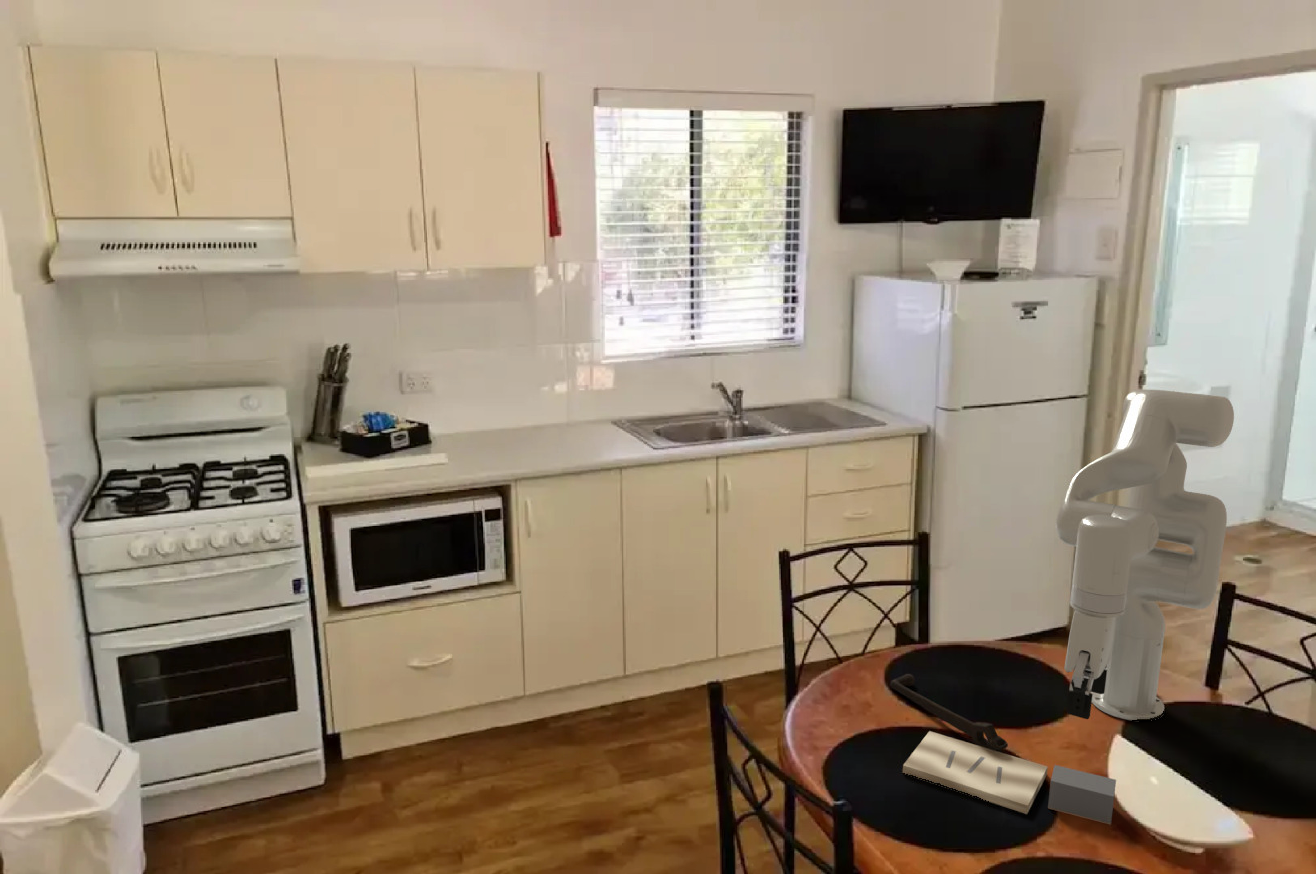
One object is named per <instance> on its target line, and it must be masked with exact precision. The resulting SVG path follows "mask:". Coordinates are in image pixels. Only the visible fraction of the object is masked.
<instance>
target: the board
mask: <svg viewBox="0 0 1316 874" xmlns="http://www.w3.org/2000/svg"><path fill="white" fill-rule="evenodd" d="M1048 768H1049V767H1048V766H1047V765H1044V764H1040V763H1037V762H1034V761H1030V760H1027V759H1024V758H1021V757H1016V756H1014V755H1010V754H1007V753H1003V752H1000V751H998V750H997V751H996V750H991V749H987V748H984V747H981V746H978V745H977V744H975V743H974V744H973V743H970V742H966V741H965V740H961V739H957V738H954V737H950V736H947V735H944V734H941V733H937V732H934V731H931V730H929V731H928V732H927V734H926V735H925V736H924V737H923V738H922V740H921V742H920V743H919V744H918V745H917V746H916V748H915V749H914V750H913V752H911V754H910V756H909V757H908V758H907V759H906V761H905V762H904V763H903V765H902V774H903V773H905V774H904V775H906V774H908V775H907V776H909V775H913V776H916V777H918V778H917V779H919V778H922V779H926V780H929V781H932V782H934V783H940V784H941V785H944V786H947V787H949V788H953V789H956V790H958V791H962V792H965V793H968V794H970V795H972V796H971V797H973V796H977V797H979V798H981V799H980V800H982V799H983V801H985V800H986V801H985V802H988V801H989V803H992V804H993V805H994V804H995V805H998V806H1001V807H1004V808H1007V809H1010V810H1014V811H1017V812H1018V813H1022V814H1025V815H1028V813H1029V811H1030V809H1031V807H1032V806H1033V804H1034V801H1035V799H1036V798H1037V796H1038V793H1039V791H1040V789H1041V788H1042V786H1043V784H1044V781H1045V779H1046V778H1047V776H1048ZM922 779H921V780H922ZM934 783H933V784H934ZM949 788H948V789H949ZM958 791H957V792H958ZM970 795H969V796H970ZM979 798H978V799H979Z"/></svg>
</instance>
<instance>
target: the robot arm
mask: <svg viewBox="0 0 1316 874" xmlns="http://www.w3.org/2000/svg"><path fill="white" fill-rule="evenodd" d="M1234 411H1235V410H1234V407H1233V405H1232V402H1231V401H1230V400H1229V398H1227V397H1225V396H1219V395H1209V394H1202V393H1193V392H1192V393H1191V392H1181V391H1174V390H1163V389H1162V390H1161V389H1138V390H1133V391H1131V392H1129V393H1128V394H1127V395H1126V396H1125V398H1124V400H1123V404H1122V415H1123V417H1122V421H1121V423H1120V427H1119V428H1118V432H1117V435H1116V437H1115V439H1114V443H1113V446H1112V449H1111V451H1110V452H1109V453H1107V454H1104V455H1103V456H1100V457H1098V458H1097V459H1095V460H1093V461H1091V462H1090V463H1088V464H1087V465H1086V466H1084V467H1082V468H1081V469H1079V471H1078V472H1077V473H1076V474H1074V476H1073V477H1072V478H1071V480H1070V481H1069V482H1068V484H1067V487H1066V489H1065V491H1064V495H1063V497H1062V500H1061V503H1060V506H1059V508H1058V511H1057V514H1056V519H1055V531H1056V536H1057V537H1058V538H1059V540H1060V541H1061V542H1063V544H1065V545H1067V546H1071V547H1075V556H1074V564H1073V574H1072V581H1071V589H1070V590H1071V593H1070V599H1069V605H1070V607H1071V608H1073V609H1074V613H1073V617H1072V620H1071V624H1070V631H1069V636H1068V643H1067V649H1066V656H1065V661H1064V669H1063V670H1065V672H1066V673H1072V677H1071V681H1070V684H1069V688H1068V694H1067V703H1066V704H1067V705H1066V713H1067V714H1068V715H1070V716H1074V717H1077V718H1081V719H1085V720H1089V719H1090V716H1091V712H1092V711H1091V710H1092V704H1093V706H1094V707H1096V708H1097V709H1098V710H1100V711H1102V712H1103V713H1105V714H1107V715H1110V716H1113V717H1115V718H1118V719H1121V720H1127V721H1132V720H1137V719H1150V718H1154V717H1157V716H1159V715H1161V714H1162V713H1163V711H1164V712H1165V705H1164V703H1163V701H1162V700H1161V699H1160V698H1159V697H1158V696H1157V694H1158V693H1157V692H1158V687H1159V686H1158V685H1159V679H1160V678H1159V677H1160V671H1161V665H1162V655H1163V647H1164V640H1165V635H1166V634H1165V632H1166V621H1165V616H1164V613H1163V612H1162V610H1161V608H1160V606H1159V605H1158V603H1157V602H1159V603H1165V604H1169V605H1174V606H1180V607H1184V608H1188V609H1194V610H1195V609H1196V610H1204V609H1206V608H1208V607H1210V606H1211V605H1212V604H1213V602H1214V600H1215V596H1216V594H1217V589H1218V582H1219V577H1220V571H1221V564H1222V557H1223V552H1224V551H1223V550H1224V543H1225V539H1226V532H1227V531H1226V530H1227V519H1228V518H1227V517H1228V514H1227V508H1226V505H1225V504H1224V502H1223V501H1222V500H1221V499H1220V498H1218V497H1216V496H1214V495H1210V494H1207V493H1200V492H1195V491H1194V492H1192V491H1186V490H1185V479H1186V474H1187V468H1188V463H1187V460H1186V459H1187V458H1186V457H1185V455H1184V454H1183V452H1182V449H1181V448H1180V447H1179V446H1178V444H1182V445H1189V446H1190V445H1191V446H1199V447H1206V448H1207V447H1208V448H1215V447H1218V446H1221V445H1222V444H1223V443H1225V441H1227V439H1228V437H1229V436H1230V434H1231V432H1232V429H1233V426H1234V421H1235V420H1234V419H1235V412H1234ZM1124 489H1130V490H1129V495H1128V501H1127V502H1128V503H1127V506H1122V505H1117V504H1112V503H1106V502H1099V501H1094V500H1092V499H1093V498H1094V497H1095V498H1096V497H1098V496H1099V495H1103V494H1106V493H1109V492H1113V491H1119V490H1124ZM1158 541H1163V542H1167V543H1174V544H1179V545H1184V546H1188V547H1189V548H1190V549H1191V550H1192V553H1188V552H1184V551H1177V550H1172V549H1168V548H1163V547H1158V546H1156V545H1157V544H1158Z"/></svg>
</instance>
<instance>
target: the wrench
mask: <svg viewBox="0 0 1316 874" xmlns="http://www.w3.org/2000/svg"><path fill="white" fill-rule="evenodd" d="M915 680H916V678H915V677H914V675H913V674H911V673H905V674H904V675H902V676H900V677H897V678H894V679H892V680H891V681H890V686H891V688H892V689H893V690H895V691H896V692H898V693H900V694H901V695H903V696H905V697H906V698H908V699H909V700H911V701H913V702H914V703H916V704H917V705H919V706H921V707H922V709H923V708H924V709H925V710H926V711H928V712H929V713H932V714H933V715H934V716H936V717H938V718H939V719H940V720H942V721H944V722H946V723H947V724H949V725H950V726H952V727H954V728H955V729H957V730H959V731H960V732H962V733H964V734H965V735H967V736H969V737H971V738H972V741H973V742H972V743H974V745H977V746H981V747H984V748H987V749H991V750H994V751H996V750H997V751H998V750H999V751H1001V750H1005V749H1006V748H1008V746H1009V745H1008V742H1007V741H1006V739H1004V738H1003V737H1001V736H999V735H998V734H997V731H996V729H995V727H994V724H993V723H989V722H983V721H976V722H972V721H971V720H969V719H967V718H965V717H963V716H962V715H959V714H957V713H955V712H954V711H951V710H950V709H948V708H947V707H944V706H941V705H939V704H938V703H937V702H934V701H932V700H931V699H929V698H927V697H925V696H923V695H922V694H919V693H917V692H915V691H913V690H912V689H910V688H908V687H912V686H913V685H914V684H915V682H916V681H915ZM985 737H986V738H985Z"/></svg>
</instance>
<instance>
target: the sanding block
mask: <svg viewBox="0 0 1316 874" xmlns="http://www.w3.org/2000/svg"><path fill="white" fill-rule="evenodd" d="M1052 769H1053V771H1052V773H1051V774H1052V775H1051V778H1050V785H1049V795H1048V804H1047V808H1048V809H1050V810H1054V811H1057V812H1061V813H1065V814H1068V815H1073V816H1076V817H1080V818H1083V819H1089V820H1090V821H1091V820H1092V821H1095V822H1099V823H1103V824H1107V825H1112V819H1113V810H1114V809H1113V808H1114V803H1115V801H1114V800H1115V795H1116V793H1115V792H1116V782H1117V779H1114V778H1111V777H1107V776H1102V775H1098V774H1094V773H1090V772H1087V771H1081V770H1079V769H1078V770H1077V769H1074V768H1069V767H1065V766H1061V765H1057V764H1054V765H1053V768H1052Z"/></svg>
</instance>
